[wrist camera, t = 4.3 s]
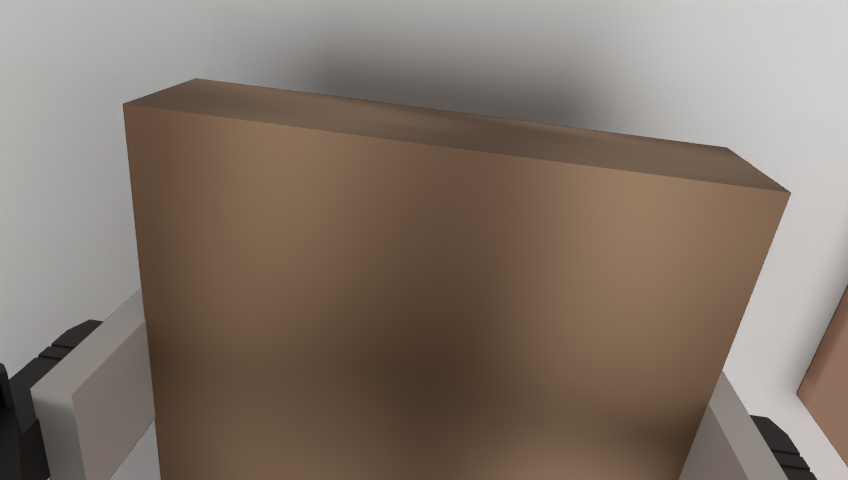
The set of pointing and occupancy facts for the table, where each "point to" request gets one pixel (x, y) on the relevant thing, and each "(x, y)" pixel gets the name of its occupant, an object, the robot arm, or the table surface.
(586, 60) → the table surface
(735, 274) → the lid
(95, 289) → the table surface
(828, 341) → the dish
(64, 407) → the robot arm
